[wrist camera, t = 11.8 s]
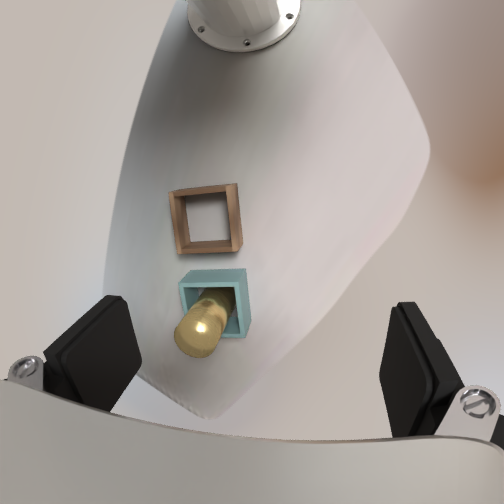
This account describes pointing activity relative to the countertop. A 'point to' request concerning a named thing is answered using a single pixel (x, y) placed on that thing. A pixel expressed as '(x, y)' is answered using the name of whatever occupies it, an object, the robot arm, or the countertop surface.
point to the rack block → (220, 278)
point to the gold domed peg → (205, 321)
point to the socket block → (182, 224)
